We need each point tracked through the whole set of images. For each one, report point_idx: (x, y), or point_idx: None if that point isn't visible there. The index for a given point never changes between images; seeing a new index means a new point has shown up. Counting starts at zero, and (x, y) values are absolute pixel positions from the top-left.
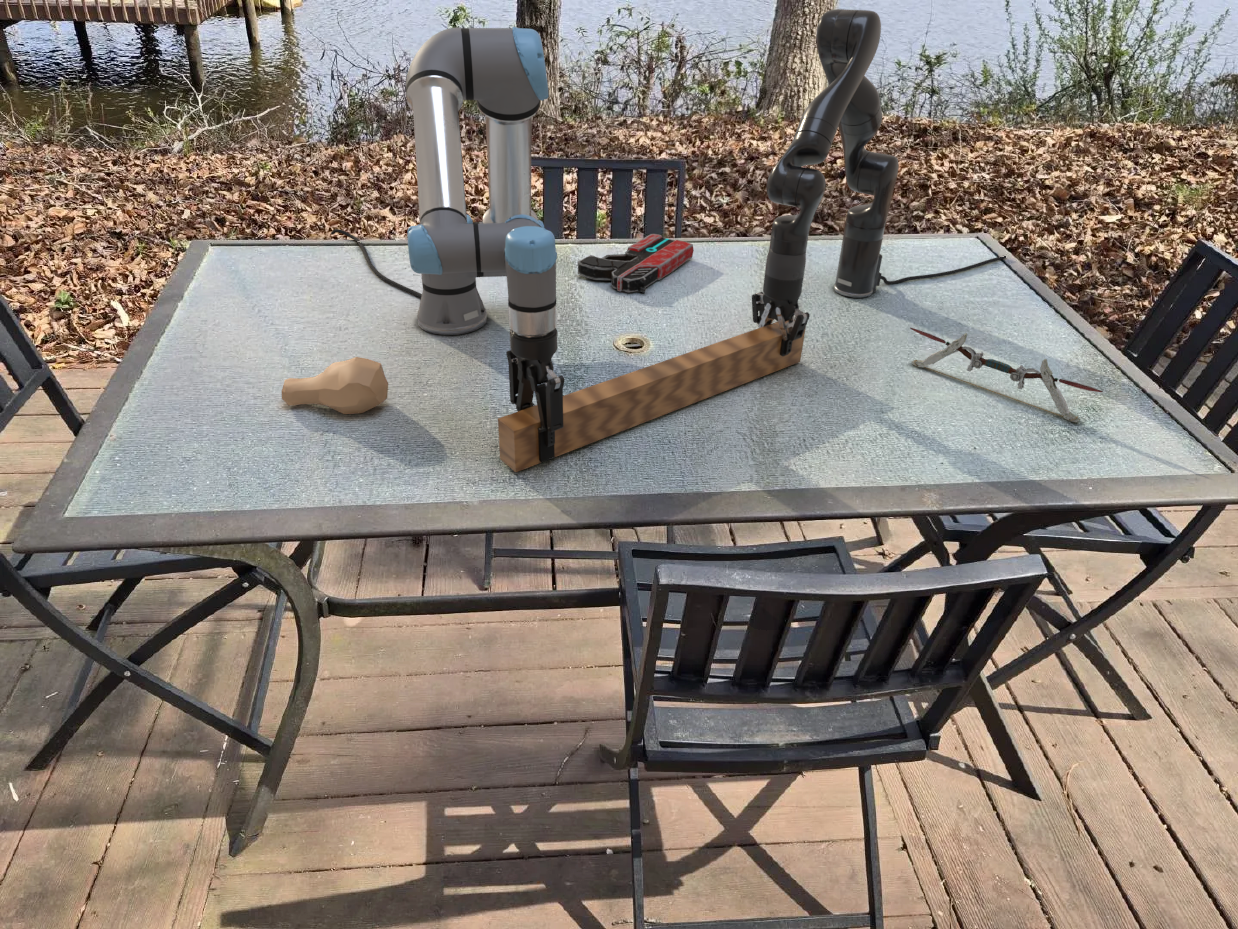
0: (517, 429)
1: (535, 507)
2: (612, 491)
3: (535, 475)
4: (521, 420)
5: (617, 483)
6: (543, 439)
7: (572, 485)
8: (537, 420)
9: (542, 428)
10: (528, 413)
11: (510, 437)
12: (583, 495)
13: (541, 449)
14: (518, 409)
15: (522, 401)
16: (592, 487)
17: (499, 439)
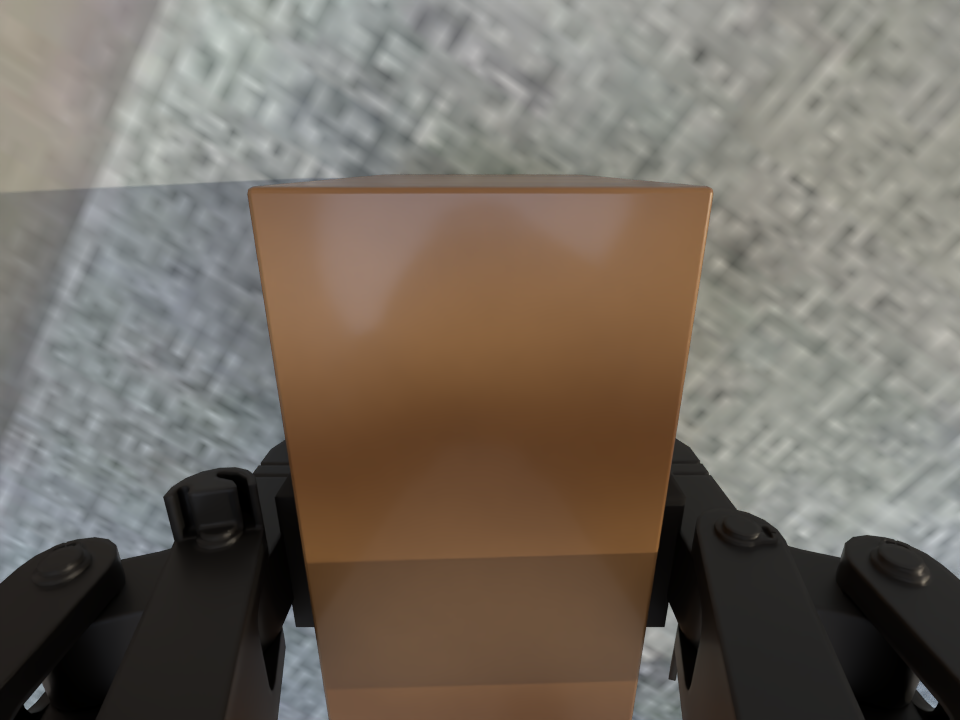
0: (269, 260)
1: (14, 80)
2: (21, 500)
3: None
4: (454, 426)
5: None
6: None
7: (148, 383)
8: (345, 562)
9: (201, 520)
10: (542, 564)
11: (382, 181)
12: (37, 377)
13: None
14: (720, 528)
15: (716, 659)
16: (90, 449)
17: (607, 178)
